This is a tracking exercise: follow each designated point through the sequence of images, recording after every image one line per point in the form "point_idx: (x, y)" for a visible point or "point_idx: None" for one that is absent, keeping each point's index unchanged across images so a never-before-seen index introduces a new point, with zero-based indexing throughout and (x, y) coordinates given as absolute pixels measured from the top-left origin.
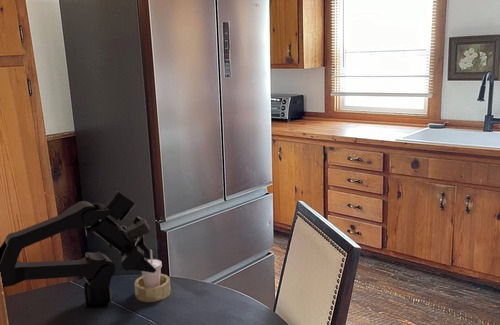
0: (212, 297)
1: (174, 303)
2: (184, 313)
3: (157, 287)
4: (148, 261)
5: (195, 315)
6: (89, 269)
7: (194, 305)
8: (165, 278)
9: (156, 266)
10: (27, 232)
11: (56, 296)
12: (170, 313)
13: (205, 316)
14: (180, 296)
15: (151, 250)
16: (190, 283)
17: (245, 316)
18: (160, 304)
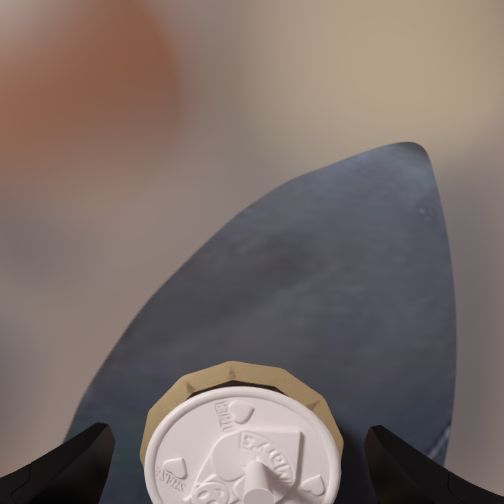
0: (327, 229)
1: (354, 359)
2: (422, 321)
3: (331, 427)
4: (198, 493)
5: (432, 288)
6: None
7: (376, 287)
8: (219, 384)
9: (320, 428)
10: None
11: None
12: (420, 369)
13: (434, 261)
14: (301, 335)
15: (270, 493)
16: (195, 287)
17: (422, 180)
18: (352, 415)
